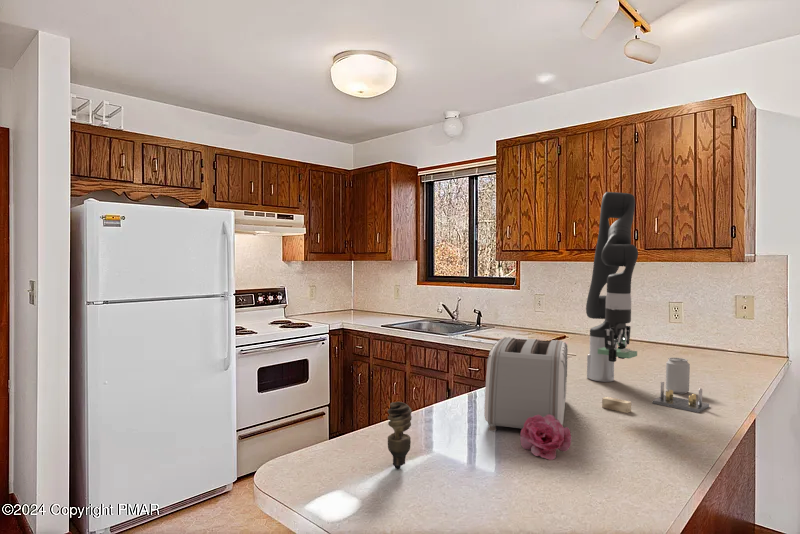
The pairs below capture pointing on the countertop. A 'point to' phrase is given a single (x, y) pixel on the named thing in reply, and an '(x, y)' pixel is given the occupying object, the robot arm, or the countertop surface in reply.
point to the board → (619, 352)
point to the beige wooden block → (616, 404)
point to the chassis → (681, 401)
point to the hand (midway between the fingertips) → (616, 359)
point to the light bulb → (399, 432)
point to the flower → (545, 436)
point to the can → (677, 375)
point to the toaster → (525, 381)
